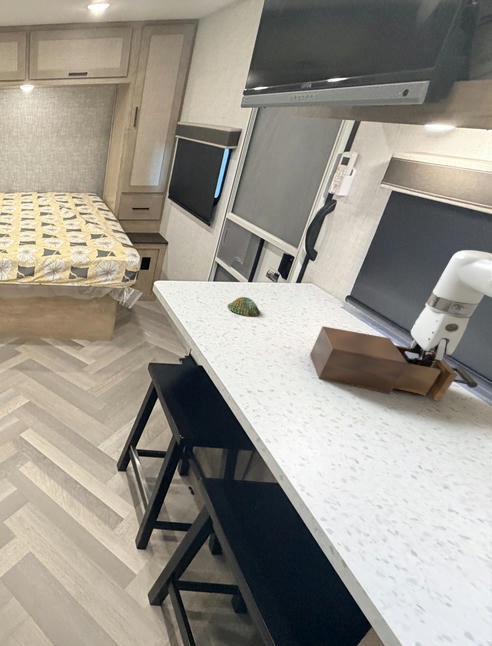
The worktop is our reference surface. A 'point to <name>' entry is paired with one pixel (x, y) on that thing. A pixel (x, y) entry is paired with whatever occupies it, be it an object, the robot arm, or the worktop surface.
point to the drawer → (431, 377)
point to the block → (410, 357)
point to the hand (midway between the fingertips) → (412, 368)
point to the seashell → (244, 307)
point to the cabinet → (357, 359)
